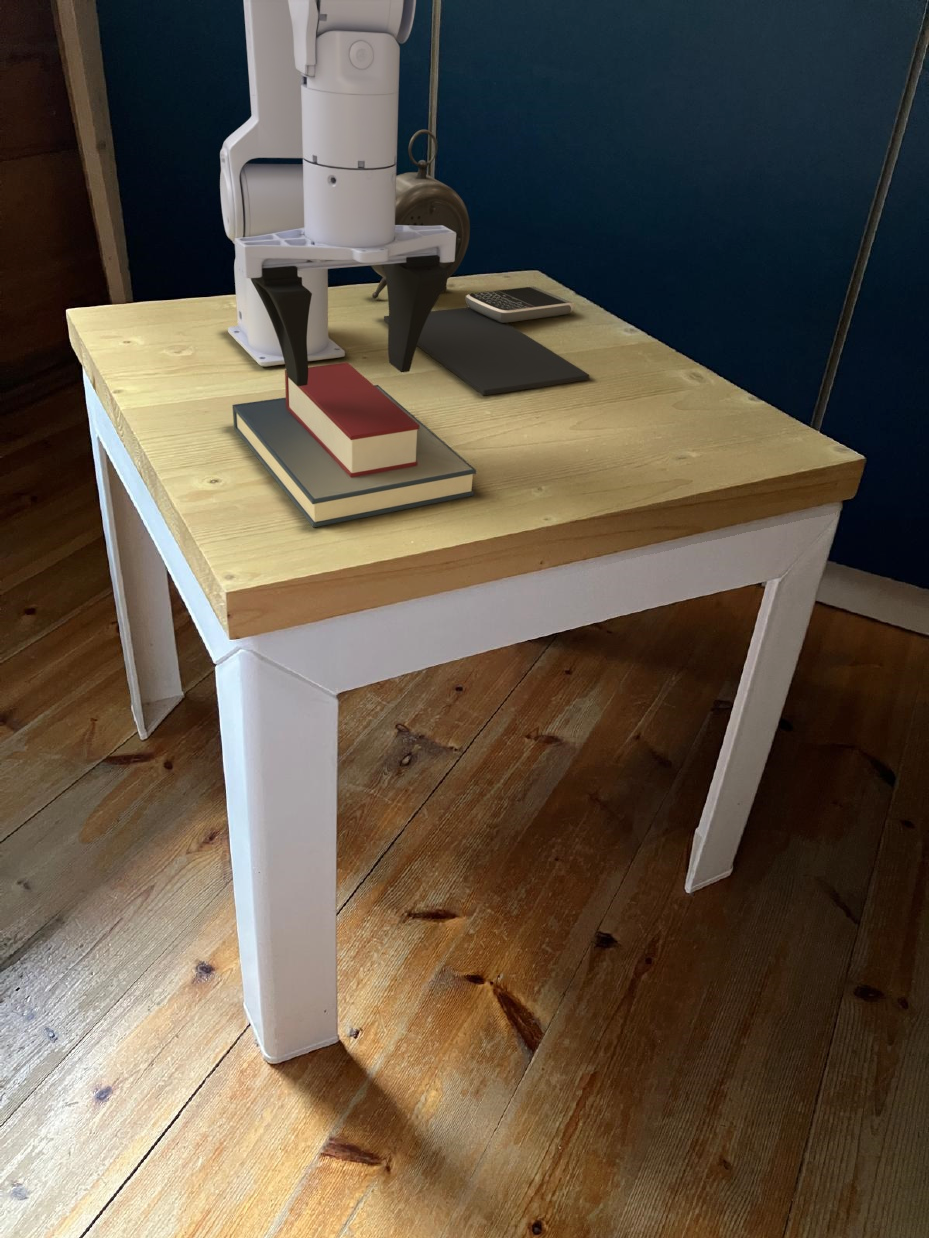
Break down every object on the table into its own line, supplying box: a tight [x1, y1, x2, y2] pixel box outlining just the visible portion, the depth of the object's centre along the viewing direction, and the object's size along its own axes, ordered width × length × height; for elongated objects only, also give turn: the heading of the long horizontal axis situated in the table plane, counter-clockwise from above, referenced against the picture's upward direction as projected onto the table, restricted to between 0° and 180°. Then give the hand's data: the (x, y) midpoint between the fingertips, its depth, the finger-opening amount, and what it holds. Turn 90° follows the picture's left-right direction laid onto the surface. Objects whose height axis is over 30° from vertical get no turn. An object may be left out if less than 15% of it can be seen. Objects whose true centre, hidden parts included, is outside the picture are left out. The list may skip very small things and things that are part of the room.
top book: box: [284, 362, 419, 477], centre depth 70 cm, size 12×5×3 cm, turn 29°
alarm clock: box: [369, 129, 471, 299], centre depth 99 cm, size 11×5×16 cm, turn 123°
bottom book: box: [231, 384, 477, 528], centre depth 71 cm, size 16×12×2 cm
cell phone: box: [465, 286, 576, 324], centre depth 101 cm, size 6×11×1 cm, turn 130°
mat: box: [383, 306, 590, 396], centre depth 93 cm, size 20×11×1 cm, turn 29°
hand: (349, 373), depth 68 cm, fingers open, 7 cm apart
